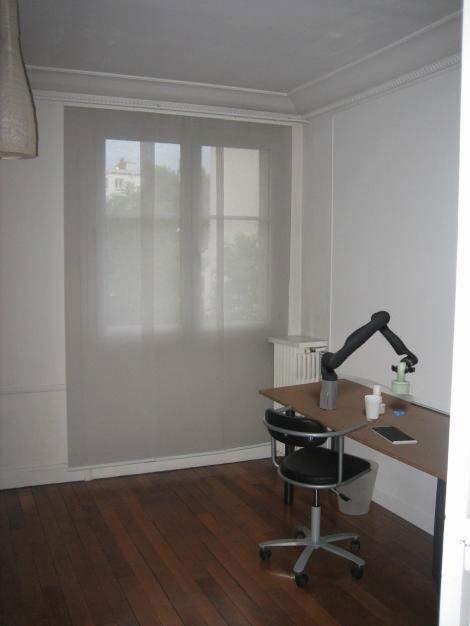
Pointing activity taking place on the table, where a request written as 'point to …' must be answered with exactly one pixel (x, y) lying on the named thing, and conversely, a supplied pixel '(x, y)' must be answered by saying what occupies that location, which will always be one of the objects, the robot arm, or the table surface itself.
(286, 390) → the table surface
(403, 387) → the pale green pedestal post
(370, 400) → the foam cup
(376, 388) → the white joystick
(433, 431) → the table surface
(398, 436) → the smartphone
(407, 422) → the table surface
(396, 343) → the robot arm
